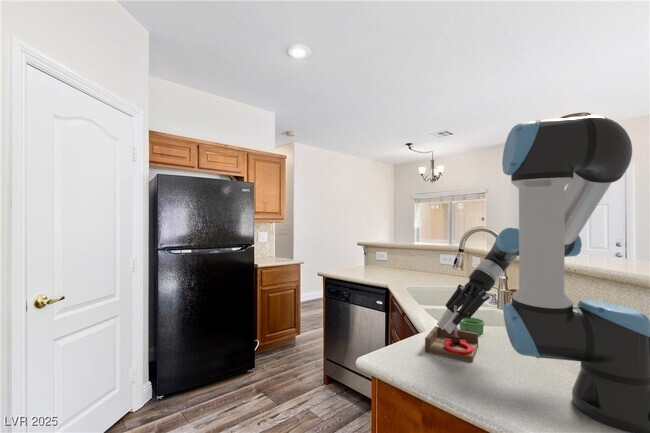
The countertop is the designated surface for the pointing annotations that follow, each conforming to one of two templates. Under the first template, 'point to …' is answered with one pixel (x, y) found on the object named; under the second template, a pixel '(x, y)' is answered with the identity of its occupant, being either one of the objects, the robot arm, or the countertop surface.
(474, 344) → the wooden tray
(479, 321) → the ramekin
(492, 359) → the countertop surface
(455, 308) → the tow hook
